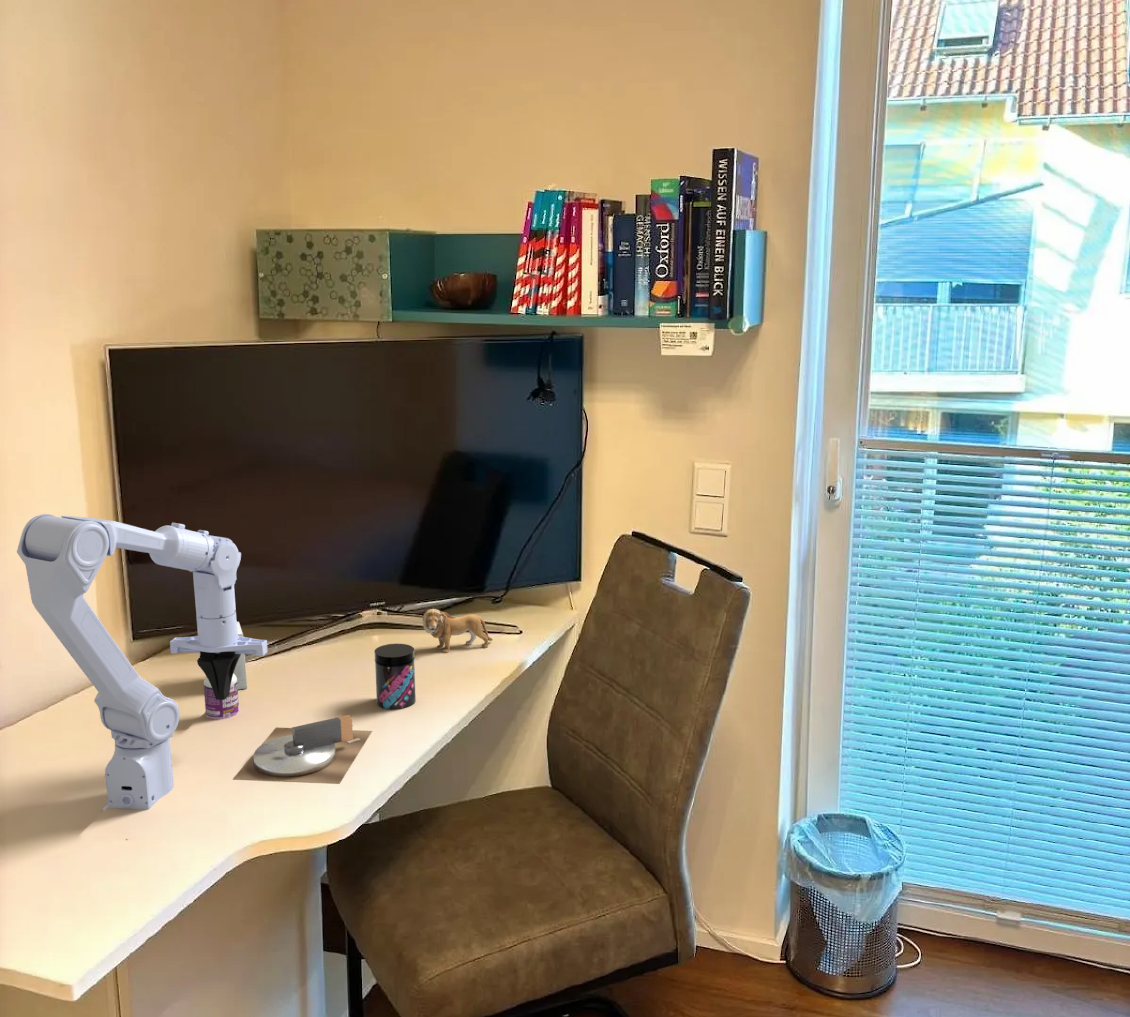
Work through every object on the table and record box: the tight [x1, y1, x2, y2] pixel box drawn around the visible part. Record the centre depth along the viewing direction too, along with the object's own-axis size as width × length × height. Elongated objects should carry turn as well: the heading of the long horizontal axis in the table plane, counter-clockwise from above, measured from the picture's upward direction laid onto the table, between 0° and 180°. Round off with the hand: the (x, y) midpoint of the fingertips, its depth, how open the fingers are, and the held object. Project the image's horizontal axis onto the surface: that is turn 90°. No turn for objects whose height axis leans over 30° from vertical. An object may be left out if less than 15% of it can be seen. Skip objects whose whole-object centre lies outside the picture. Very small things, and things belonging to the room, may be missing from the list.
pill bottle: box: [203, 674, 240, 720], centre depth 177 cm, size 5×5×10 cm
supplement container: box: [373, 643, 417, 711], centre depth 181 cm, size 7×7×10 cm
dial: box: [253, 714, 353, 777], centre depth 161 cm, size 15×12×5 cm
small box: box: [233, 621, 248, 691], centre depth 192 cm, size 8×6×10 cm
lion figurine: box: [422, 608, 494, 654], centre depth 210 cm, size 15×5×9 cm, turn 118°
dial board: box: [232, 727, 373, 785], centre depth 162 cm, size 18×16×1 cm
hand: (222, 697), depth 163 cm, fingers closed
